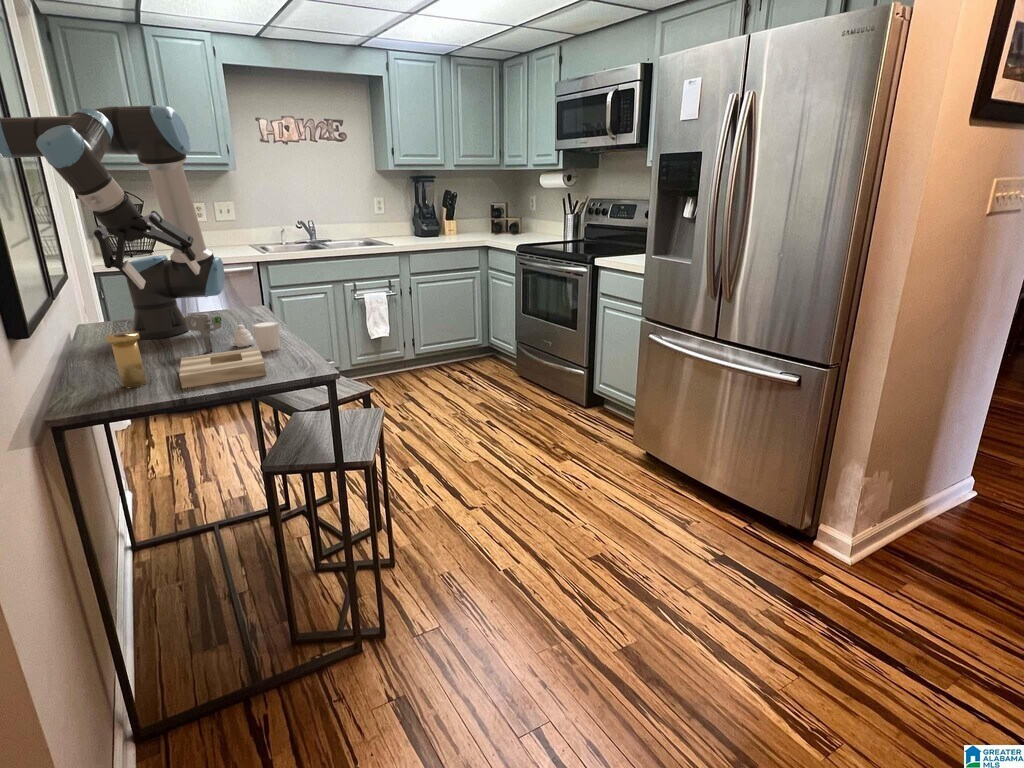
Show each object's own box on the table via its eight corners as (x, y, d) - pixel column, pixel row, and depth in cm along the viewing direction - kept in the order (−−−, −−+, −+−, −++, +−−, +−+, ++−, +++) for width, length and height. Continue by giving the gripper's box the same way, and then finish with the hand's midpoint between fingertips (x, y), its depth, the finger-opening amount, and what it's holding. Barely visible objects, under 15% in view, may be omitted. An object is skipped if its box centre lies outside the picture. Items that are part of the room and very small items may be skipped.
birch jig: (183, 369, 149) (181, 358, 148) (260, 358, 156) (258, 347, 155) (182, 388, 135) (179, 375, 134) (266, 375, 143) (264, 363, 142)
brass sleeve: (120, 383, 140) (107, 333, 136) (151, 378, 143) (139, 329, 139) (117, 391, 135) (103, 339, 131) (149, 386, 137) (137, 335, 133)
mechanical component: (222, 353, 162) (215, 317, 158) (189, 352, 164) (181, 316, 160) (229, 350, 164) (222, 314, 161) (196, 349, 166) (189, 314, 163)
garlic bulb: (237, 322, 171) (254, 322, 170) (241, 342, 173) (258, 342, 172) (225, 327, 165) (243, 327, 165) (229, 347, 167) (247, 348, 167)
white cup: (284, 344, 169) (280, 320, 167) (280, 351, 162) (275, 326, 160) (259, 346, 168) (254, 322, 165) (253, 352, 161) (248, 327, 159)
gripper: (46, 228, 123) (116, 301, 139) (162, 197, 122) (218, 274, 139) (57, 207, 128) (124, 281, 144) (168, 177, 127) (223, 255, 144)
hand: (170, 278), depth 141 cm, fingers open, 13 cm apart
